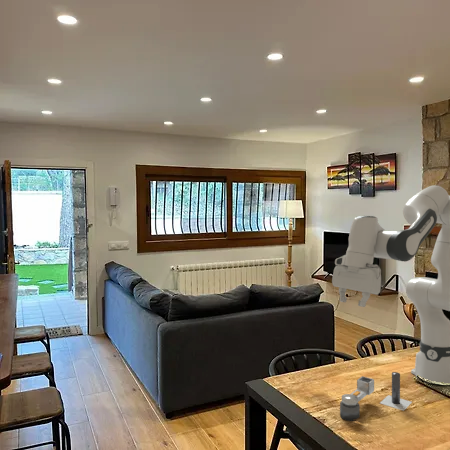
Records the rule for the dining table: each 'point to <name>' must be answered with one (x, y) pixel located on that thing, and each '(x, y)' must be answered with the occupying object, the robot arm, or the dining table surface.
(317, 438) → the dining table surface
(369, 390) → the crank
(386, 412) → the dining table surface
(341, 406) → the crank post
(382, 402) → the mat
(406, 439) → the dining table surface
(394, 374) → the dark grey post
